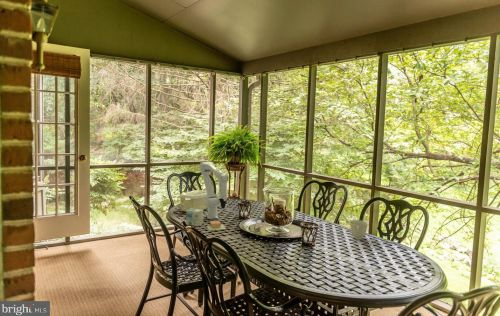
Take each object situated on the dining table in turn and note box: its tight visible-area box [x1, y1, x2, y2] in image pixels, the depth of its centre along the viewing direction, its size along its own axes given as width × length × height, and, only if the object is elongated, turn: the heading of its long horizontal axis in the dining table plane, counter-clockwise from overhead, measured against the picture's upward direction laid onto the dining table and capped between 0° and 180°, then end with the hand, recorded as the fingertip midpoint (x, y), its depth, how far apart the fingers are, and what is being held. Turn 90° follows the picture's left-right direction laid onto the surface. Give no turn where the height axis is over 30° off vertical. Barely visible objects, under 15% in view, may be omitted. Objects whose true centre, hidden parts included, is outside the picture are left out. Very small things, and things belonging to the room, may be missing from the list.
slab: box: [209, 220, 222, 228], centre depth 249 cm, size 3×6×7 cm
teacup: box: [348, 219, 369, 240], centre depth 225 cm, size 12×15×10 cm
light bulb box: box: [185, 208, 204, 227], centre depth 255 cm, size 11×7×11 cm, turn 68°
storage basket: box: [179, 189, 208, 212], centre depth 298 cm, size 24×16×15 cm
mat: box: [205, 224, 227, 232], centre depth 247 cm, size 10×12×1 cm
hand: (223, 208), depth 260 cm, fingers closed
